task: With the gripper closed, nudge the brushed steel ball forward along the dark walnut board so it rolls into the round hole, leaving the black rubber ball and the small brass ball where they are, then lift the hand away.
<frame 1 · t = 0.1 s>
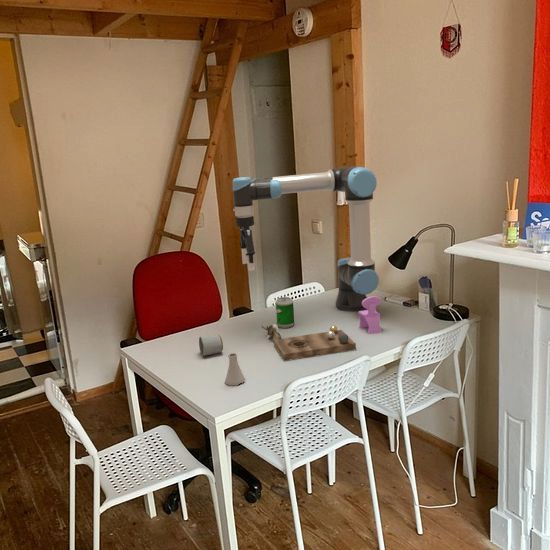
hand: (248, 267, 239), 28 cm above the table, tool pointing down, fingers open, 13 cm apart
steel ball: (331, 335, 223), point 4 cm above the table, touching board
grey cylinder: (210, 353, 225), on the table
toy chair: (370, 330, 238), on the table
eagle figurine: (272, 339, 235), on the table
brass ball: (333, 329, 229), point 4 cm above the table, touching board
board: (314, 347, 223), on the table
soda can: (285, 326, 249), on the table
flask: (235, 382, 198), on the table
black rubber ball: (343, 338, 218), point 4 cm above the table, touching board
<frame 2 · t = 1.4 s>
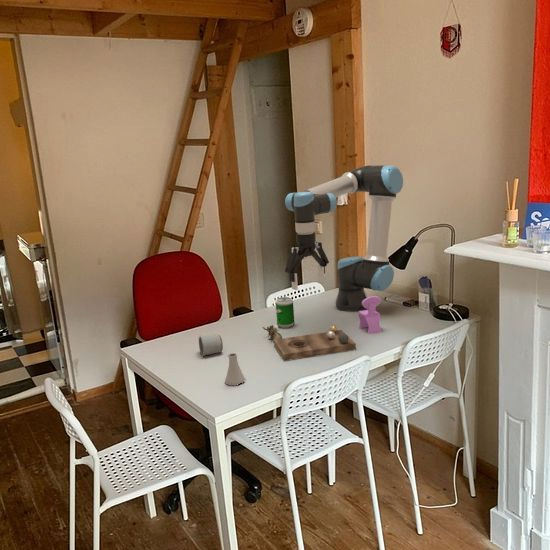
hand: (308, 285, 227), 22 cm above the table, tool pointing down, fingers open, 13 cm apart
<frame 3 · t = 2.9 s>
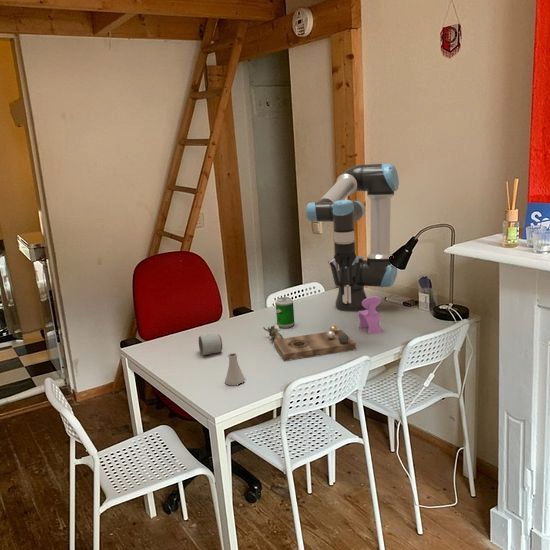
hand: (346, 302, 221), 16 cm above the table, tool pointing down, fingers closed
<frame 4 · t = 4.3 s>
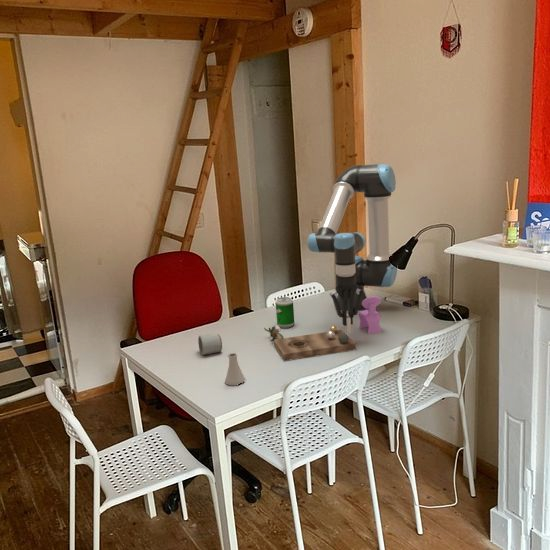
hand: (348, 332, 224), 4 cm above the table, tool pointing down, fingers closed
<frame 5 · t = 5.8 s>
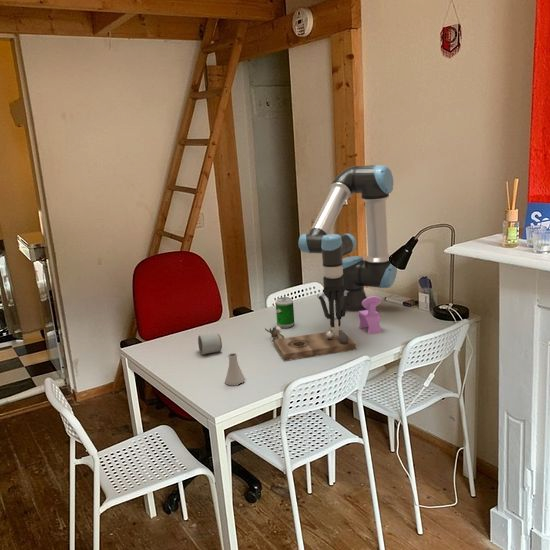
hand: (335, 334, 223), 4 cm above the table, tool pointing down, fingers closed
steel ball: (330, 335, 223), point 4 cm above the table, tilted 12°, touching board, gripper
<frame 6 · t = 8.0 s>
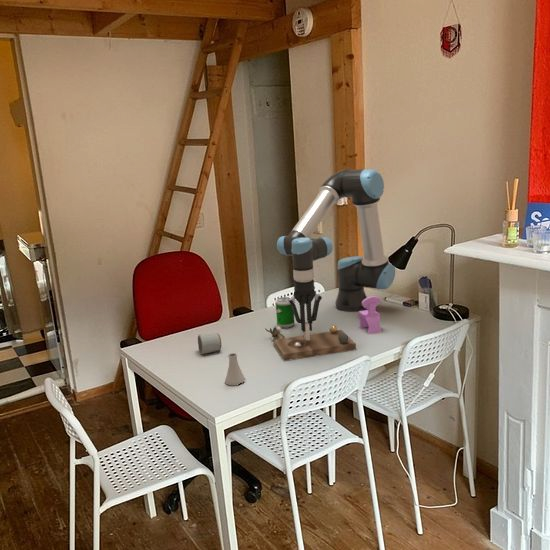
hand: (307, 338, 221), 4 cm above the table, tool pointing down, fingers closed
steel ball: (297, 346, 221), point 2 cm above the table, tilted 110°
eagle figurine: (276, 341, 232), on the table, touching board
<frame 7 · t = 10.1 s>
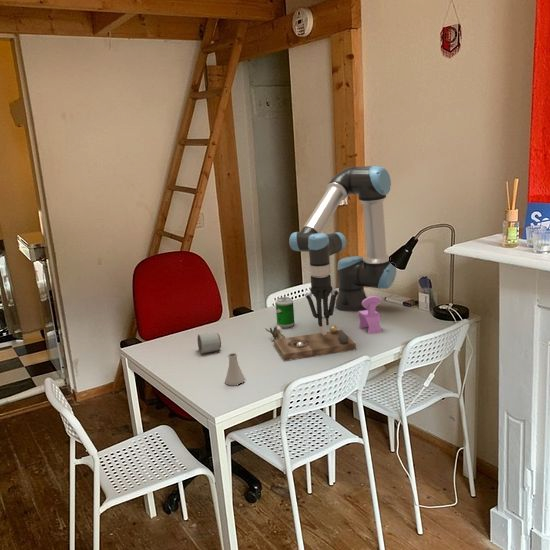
hand: (324, 333, 223), 5 cm above the table, tool pointing down, fingers closed
steel ball: (300, 345, 221), point 2 cm above the table, tilted 75°
eagle figurine: (276, 341, 232), on the table
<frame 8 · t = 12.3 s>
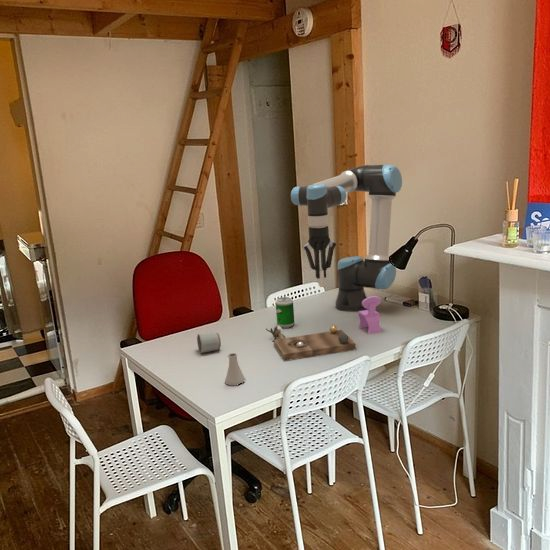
hand: (321, 286, 224), 22 cm above the table, tool pointing down, fingers closed
at the end: steel ball 0.5 cm from the target spot in the board, point 1.6 cm above the board's base; black rubber ball moved 0.0 cm from its start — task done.
